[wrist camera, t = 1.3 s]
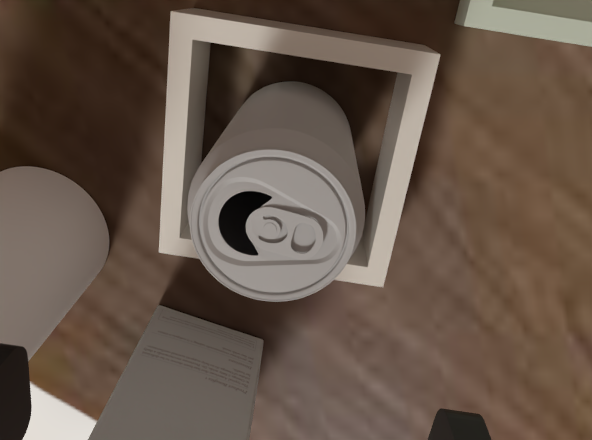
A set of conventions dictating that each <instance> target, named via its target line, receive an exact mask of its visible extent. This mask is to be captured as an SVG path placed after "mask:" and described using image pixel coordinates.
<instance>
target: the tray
mask: <svg viewBox="0 0 592 440" xmlns="http://www.w3.org/2000/svg"><path fill="white" fill-rule="evenodd" d="M454 23H455V24H458V25H462V26H467V27H473V28H479V29H485V30H492V31H498V32H504V33H510V34H516V35H523V36H529V37H535V38H541V39H548V40H554V41H560V42H566V43H572V44H579V45H585V46H591V47H592V0H460V2H459V6H458V10H457V14H456V18H455V22H454Z"/></svg>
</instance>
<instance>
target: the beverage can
mask: <svg viewBox="0 0 592 440" xmlns="http://www.w3.org/2000/svg"><path fill="white" fill-rule="evenodd" d="M187 212H188V221H189V226H190V233H191V238H192V242H193V245H194V248H195V251H196V253H197V255H198V257H199V259H200V260H201V262H202V264H203V265H204V266H205V268H206V269H207V270H208V271H209V272H210V274H211V275H212V276H213V277H215V278H216V279H217V280H218V281H219V282H220V283H222V284H223V285H224V286H226V287H227V288H229V289H230V290H232V291H234V292H236V293H238V294H241V295H243V296H246V297H249V298H252V299H256V300H262V301H272V302H280V301H290V300H296V299H300V298H303V297H306V296H309V295H311V294H313V293H315V292H317V291H319V290H321V289H322V288H324V287H325V286H327V285H328V284H329V283H331V282H332V281H333V280H334V279H335V278H336V277H337V276H338V275H339V274H340V273H341V271H342V270H343V269H344V267H345V266H346V264H347V263H348V261H349V259H350V258H351V256H352V255H353V253H354V252H355V250H356V248H357V246H358V244H359V242H360V239H361V237H362V233H363V228H364V223H365V204H364V198H363V192H362V187H361V182H360V177H359V172H358V166H357V161H356V156H355V151H354V145H353V140H352V135H351V130H350V126H349V123H348V120H347V117H346V115H345V114H344V112H343V110H342V109H341V107H340V106H339V105H338V103H337V102H336V101H335V100H334V99H333V98H332V97H331V96H330V95H328V94H327V93H326V92H324V91H322V90H321V89H319V88H317V87H315V86H312V85H310V84H306V83H302V82H295V81H287V82H279V83H274V84H271V85H268V86H266V87H263V88H261V89H260V90H258V91H256V92H255V93H254V94H252V95H251V96H250V97H249V98H248V99H247V100H246V101H245V103H244V104H243V105H242V106H241V107H240V109H239V110H238V112H237V113H236V114H235V116H234V117H233V119H232V120H231V122H230V123H229V124H228V126H227V127H226V129H225V130H224V132H223V133H222V135H221V136H220V137H219V139H218V140H217V142H216V143H215V145H214V146H213V147H212V149H211V150H210V152H209V153H208V155H207V156H206V157H205V159H204V160H203V162H202V163H201V165H200V166H199V168H198V170H197V172H196V173H195V176H194V178H193V180H192V183H191V186H190V190H189V194H188V205H187Z"/></svg>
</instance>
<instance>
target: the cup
mask: <svg viewBox="0 0 592 440" xmlns="http://www.w3.org/2000/svg"><path fill="white" fill-rule="evenodd" d="M108 251H109V233H108V228H107V224H106V221H105V219H104V217H103V214H102V212H101V211H100V209H99V207H98V206H97V204H96V203H95V201H94V200H93V199H92V198H91V197H90V195H89V194H88V193H87V192H86V191H85V190H84V189H82V188H81V187H80V186H79V185H78V184H76V183H75V182H73V181H72V180H70V179H69V178H67V177H65V176H63V175H61V174H59V173H57V172H54V171H51V170H48V169H44V168H39V167H32V166H22V167H14V168H9V169H6V170H3V171H1V172H0V343H3V344H10V345H16V346H22V347H24V348H25V349H26V351H27V355H28V361H29V360H30V359H31V357H32V356H33V355H34V354H35V352H36V351H37V350H38V349H39V347H40V346H41V345H42V344H43V342H44V341H45V340H46V339H47V337H48V336H49V335H50V333H51V332H52V331H53V330H54V328H55V327H56V326H57V325H58V323H59V322H60V321H61V320H62V318H63V317H64V316H65V315H66V313H67V312H68V311H69V310H70V308H71V307H72V306H73V305H74V303H75V302H76V301H77V300H78V298H79V297H80V296H81V295H82V293H83V292H84V291H85V290H86V288H87V287H88V286H89V285H90V283H91V282H92V281H93V280H94V278H95V277H96V276H97V275H98V273H99V272H100V271H101V269H102V268H103V266H104V264H105V262H106V259H107V256H108Z"/></svg>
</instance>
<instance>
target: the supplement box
mask: <svg viewBox="0 0 592 440" xmlns="http://www.w3.org/2000/svg"><path fill="white" fill-rule="evenodd" d="M262 351H263V340H262V339H260V338H257V337H254V336H251V335H248V334H245V333H242V332H239V331H235V330H232V329H229V328H226V327H223V326H220V325H217V324H214V323H211V322H208V321H205V320H202V319H199V318H196V317H193V316H190V315H188V314H185V313H182V312H179V311H176V310H173V309H170V308H167V307H164V306H161V305H158V307H157V308H156V310H155V312H154V314H153V316H152V318H151V320H150V321H149V323H148V325H147V327H146V329H145V331H144V333H143V335H142V337H141V339H140V341H139V343H138V345H137V347H136V349H135V351H134V352H133V354H132V356H131V358H130V360H129V362H128V364H127V366H126V368H125V370H124V371H123V373H122V375H121V377H120V379H119V381H118V383H117V385H116V387H115V389H114V391H113V393H112V395H111V397H110V399H109V400H108V402H107V404H106V406H105V408H104V410H103V412H102V414H101V416H100V418H99V420H98V422H97V423H96V425H95V427H94V429H93V431H92V433H91V435H90V437H89V439H88V440H249V436H250V431H251V425H252V419H253V412H254V406H255V399H256V393H257V386H258V380H259V372H260V364H261V357H262Z"/></svg>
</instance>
